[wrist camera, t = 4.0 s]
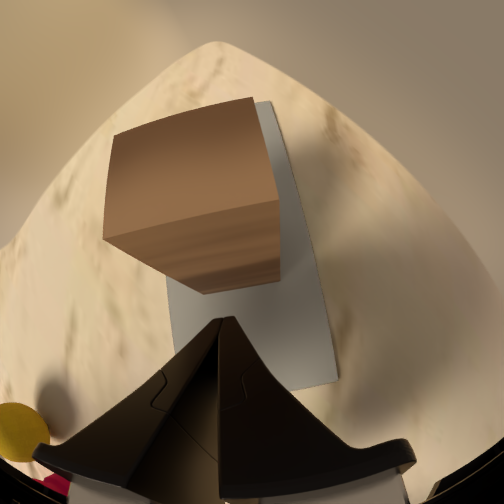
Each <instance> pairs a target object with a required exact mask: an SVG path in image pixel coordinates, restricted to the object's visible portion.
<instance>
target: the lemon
mask: <svg viewBox="0 0 504 504" xmlns="http://www.w3.org/2000/svg"><path fill="white" fill-rule="evenodd" d="M39 442H43V443H47V444H49V445H50V434H49V430H48V426H47V424H46V423H45V422H44V420H43V419H42V417H41V416H40V415H39V414H38V413H37V412H36V411H35V410H33V409H32V408H30V407H28V406H26V405H24V404H21V403H3V404H0V455H2V456H3V457H4V458H6V459H8V460H10V461H14V462H32V461H35V460H34V459H33V458H32V453H33V451H34V449H35V447H36V446H37V445H38V443H39Z"/></svg>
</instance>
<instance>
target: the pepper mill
mask: <svg viewBox="0 0 504 504" xmlns="http://www.w3.org/2000/svg"><path fill="white" fill-rule="evenodd" d="M32 479H33V478H32ZM34 480H35V481H37V482H39V483H41V484H42V485H44V486H46V487H48V488H50V489H52V490H54V491H56V492H58V493H61V494H63V495H65V496H68V491H69V487H70V481H68V480H66V479H64V478H63V477H61V476H59V475H57V474H56V473H55V474H52V475H50V476H48V477H46V478H44V481H41V480H38V479H34Z"/></svg>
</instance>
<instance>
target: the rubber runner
mask: <svg viewBox="0 0 504 504" xmlns="http://www.w3.org/2000/svg"><path fill="white" fill-rule="evenodd" d="M254 104H255V107H256V111H257V114H258V118H259V122H260V125H261V129H262V133H263V136H264V140H265V144H266V148H267V152H268V155H269V159H270V163H271V167H272V171H273V175H274V179H275V183H276V187H277V191H278V196H279V203H280V281H279V282H274V283H269V284H263V285H258V286H252V287H247V288H241V289H236V290H230V291H224V292H218V293H212V294H206V295H203V294H201V293H199V292H197V291H195V290H193V289H191V288H189V287H187V286H185V285H183V284H181V283H180V282H178V281H176V280H174V279H172V278H170V277H168V276H166V284H167V294H168V304H169V312H170V321H171V329H172V336H173V343H174V350H175V355H176V354H177V353H178V352H179V351H180V350H181V349H182V348H183V347H184V346H185V345H186V344H187V343H188V342H189V341H191V340H192V339H193V338H194V337H195V336H196V335H197V334H198V333H199V332H200V331H201V330H202V329H203V328H204V327H205V326H206V325H207V324H208V323H209V322H210V321H211V320H212V319H214V318H221V317H223V318H224V317H227V316H235V317H236V319H237V321H238V322H239V324H240V326H241V327H242V329H243V330H244V332H245V334H246V335H247V337H248V339H249V340H250V342H251V343H252V345H253V347H254V348H255V350H256V351H257V353H258V355H259V356H260V358H261V359H262V360H263V362H264V364H265V365H266V366H267V368H268V369H269V371H270V372H271V373H272V374H273V376H274V377H275V378H276V379H277V380H278V381H279V382H280V383H281V384H282V385H283V386H284V387H285V388H286V389H287V390H288V391H289V392H290V391H295V390H300V389H305V388H310V387H315V386H319V385H323V384H328V383H332V382H336V381H338V374H337V368H336V362H335V356H334V350H333V344H332V339H331V333H330V328H329V323H328V318H327V313H326V308H325V303H324V298H323V293H322V288H321V284H320V279H319V275H318V270H317V266H316V262H315V257H314V253H313V249H312V245H311V241H310V237H309V233H308V229H307V225H306V221H305V217H304V213H303V209H302V206H301V202H300V198H299V194H298V191H297V187H296V184H295V180H294V177H293V173H292V170H291V166H290V163H289V160H288V156H287V153H286V150H285V146H284V143H283V140H282V137H281V134H280V131H279V127H278V124H277V121H276V118H275V115H274V112H273V109H272V106H271V103H270V101H264V102H258V103H254Z"/></svg>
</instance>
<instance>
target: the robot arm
mask: <svg viewBox="0 0 504 504" xmlns="http://www.w3.org/2000/svg"><path fill="white" fill-rule="evenodd" d="M32 458H33V459H34V460H35V461H37V462H38V463H39V464H41V465H42V466H44V467H46V468H47V469H49V470H51V471H52V472H54V473H56V474H57V475H59V476H61V477H63V478H64V479H66V480H68V481H70V487H69V491H68V496H65V495H63V494H61V493H58V492H56V491H54V490H52V489H50V488H48V487H46V486H44V485H42V484H41V483H39V482H37V481H35V480H34V479H32V478H30V477H28V476H27V475H25V474H24V473H22V472H20V471H19V470H17V469H16V468H14V467H13V466H11V465H10V464H8V463H7V462H5V461H4V460H3V459H1V458H0V504H225V502H227V503H230V504H410V502H409V498H408V495H407V491H406V488H405V485H404V481H403V478H402V474H403V473H405V472H406V471H407V470H408V469H410V468H411V467H412V466H413V465H414V464H415V463H416V462H417V459H416V456H415V454H414V451H413V449H412V447H411V445H410V443H409V442H408V440H406V439H403V438H401V439H394V440H390V441H387V442H383V443H380V444H377V445H375V446H372V447H368V448H363V449H357V448H353V447H350V446H349V445H347V444H346V443H345V442H343V441H342V440H341V439H340V438H339V437H338V436H336V435H335V434H334V433H333V432H332V431H331V430H330V429H329V428H327V427H326V426H325V425H324V424H323V423H322V422H321V421H320V420H319V419H317V418H316V417H315V416H314V415H313V414H312V413H311V412H310V411H309V410H308V409H307V408H306V407H305V406H304V405H302V404H301V403H300V402H299V401H298V400H297V399H296V398H295V397H294V396H293V395H292V394H291V393H290V392H289V391H288V390H287V389H286V388H285V387H284V386H283V385H282V384H281V383H280V382H279V381H278V380H277V379H276V378H275V377H274V376H273V374H272V373H271V372H270V371H269V369H268V368H267V366H266V365H265V364H264V362H263V360H262V359H261V358H260V356H259V355H258V353H257V351H256V350H255V348H254V347H253V345H252V343H251V342H250V340H249V339H248V337H247V335H246V334H245V332H244V330H243V329H242V327H241V326H240V324H239V322H238V321H237V319H236V317H235V316H227V317H224V318H223V317H221V318H214V319H212V320H211V321H210V322H209V323H208V324H207V325H206V326H205V327H204V328H203V329H202V330H201V331H200V332H199V333H198V334H197V335H196V336H195V337H194V338H193V339H192V340H191V341H189V342H188V343H187V344H186V345H185V346H184V347H183V348H182V349H181V350H180V351H179V352H178V353H177V354H176V355H175V356H174V357H173V358H172V359H171V360H170V361H168V362H167V363H166V364H165V365H164V366H163V367H162V368H161V370H158V371H157V372H156V373H155V374H154V375H153V376H152V377H151V378H150V379H149V380H147V381H146V382H145V383H144V384H143V385H142V386H140V387H139V388H138V389H137V390H135V391H134V392H133V393H131V394H130V395H129V396H127V397H126V398H125V399H123V400H122V401H121V402H119V403H118V404H117V405H115V406H114V407H113V408H111V409H110V410H109V411H107V412H106V413H105V414H103V415H102V416H101V417H99V418H98V419H96V420H95V421H94V422H92V423H91V424H90V425H88V426H87V427H85V428H84V429H83V430H81V431H80V432H78V433H77V434H76V435H74V436H73V437H71V438H70V439H68V440H67V441H66V442H64V443H62V444H60V445H56V446H53V445H49V444H47V443H43V442H39V443H38V445H37V446H36V447H35V449H34V451H33V453H32ZM420 504H504V437H503V438H502V439H501V440H500V441H499V442H497V443H496V444H495V445H494V446H492V447H491V448H490V449H488V450H487V451H486V452H484V453H483V454H481V455H480V456H478V457H477V458H475V459H474V460H472V461H471V462H469V463H468V464H466V465H465V466H463V467H462V468H460V469H458V470H457V471H455V472H453V473H452V474H450V475H448V476H446V477H444V478H443V479H441V480H439V481H437V482H436V483H435V485H434V486H433V488H432V490H431V492H430V494H429V496H428V498H427V499H426V501H424V502H422V503H420Z"/></svg>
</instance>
